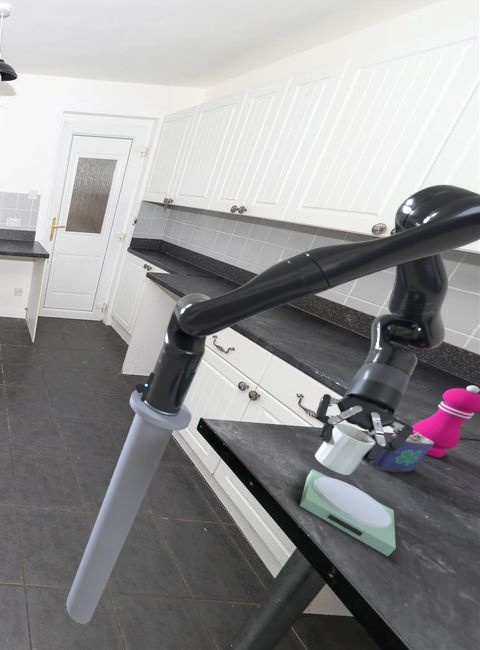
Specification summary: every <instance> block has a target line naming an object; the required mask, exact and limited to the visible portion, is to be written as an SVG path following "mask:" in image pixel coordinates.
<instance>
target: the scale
mask: <svg viewBox="0 0 480 650" xmlns="http://www.w3.org/2000/svg"><path fill="white" fill-rule="evenodd" d="M299 507H301V508H303V509H305V510H306V511H308V512H310V513H312V514H313V515H315V516H317V517H318V518H320V519H321V520H323V521H325V522H327V523H328V524H331V525H332V526H333V527H336V528H338V529H339V530H341V531H343V532H345V533H346V534H348V535H350V536H351V537H353V538H355V539H357V540H358V541H360V542H362V543H364V544H365V545H367V546H369V547H370V548H372V549H374V550H375V551H377V552H379V553H381V554H382V555H385V556H386V557H389V556H390V555H391V554H392V553H393V552H394V551H395V550H396V549H397V545H396V529H395V528H396V525H395V512H394V509H392V508H390V507H388V506H386V505H384V504H382V503H380V502H378V501H377V500H375V498H374V497H372V496H370V495H369V494H367V493H366V492H364V491H363V490H361V489H360V488H357V487H355V486H353V485H351V484H349V483H347V482H345V481H342V480H341V479H340V480H339V479H336V478H333V477H330V476H327V475H325V474H323V473H321V472H319V471H318V470H315V469H311V470H310V472H309V473H308V475H307V477H306V480H305V484H304V488H303V492H302V495H301V499H300V503H299Z"/></svg>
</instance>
